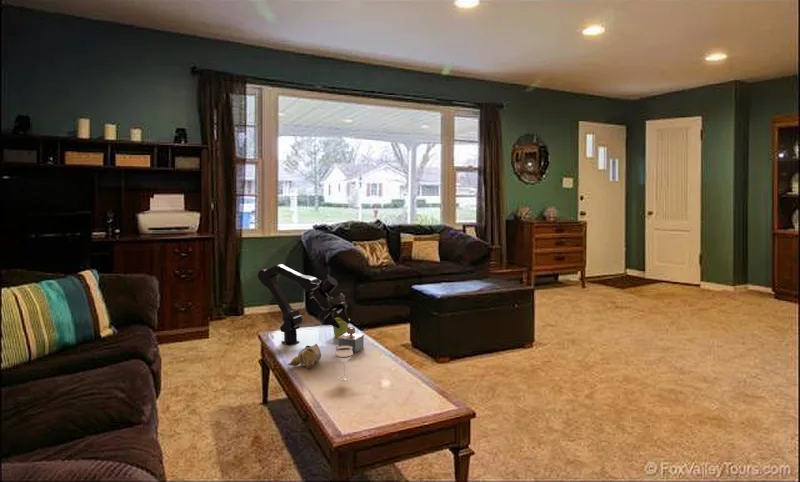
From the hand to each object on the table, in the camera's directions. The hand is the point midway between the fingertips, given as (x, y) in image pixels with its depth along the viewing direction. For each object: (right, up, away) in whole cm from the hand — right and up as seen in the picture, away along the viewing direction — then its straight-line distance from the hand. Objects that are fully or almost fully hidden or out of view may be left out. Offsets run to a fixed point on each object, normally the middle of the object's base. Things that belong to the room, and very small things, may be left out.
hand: (344, 325), depth 233 cm
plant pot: (-4, -10, +23) cm, 25 cm away
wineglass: (+4, -15, -35) cm, 38 cm away
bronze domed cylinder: (+3, -10, 0) cm, 11 cm away
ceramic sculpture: (-13, -14, -20) cm, 27 cm away
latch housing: (+3, -12, 0) cm, 12 cm away
